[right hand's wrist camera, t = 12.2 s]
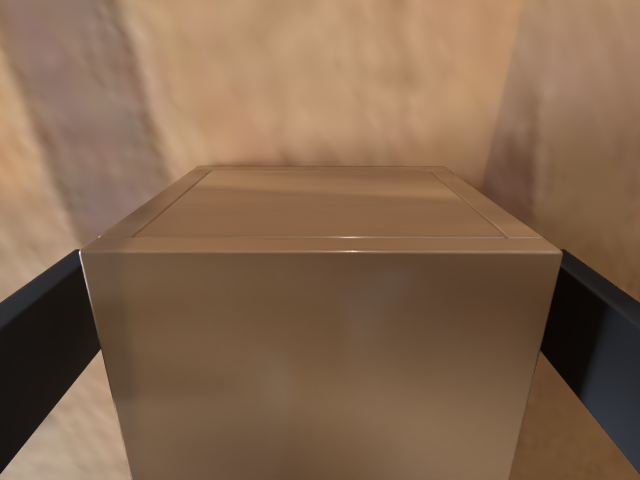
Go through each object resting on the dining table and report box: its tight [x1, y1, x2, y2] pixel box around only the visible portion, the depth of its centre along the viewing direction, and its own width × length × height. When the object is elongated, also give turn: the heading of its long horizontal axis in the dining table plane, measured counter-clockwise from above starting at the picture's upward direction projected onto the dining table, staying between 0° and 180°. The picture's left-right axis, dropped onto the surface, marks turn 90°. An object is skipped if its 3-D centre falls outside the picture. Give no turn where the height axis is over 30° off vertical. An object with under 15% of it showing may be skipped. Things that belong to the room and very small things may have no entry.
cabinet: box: [79, 166, 563, 480], centre depth 16 cm, size 18×10×9 cm, turn 0°
